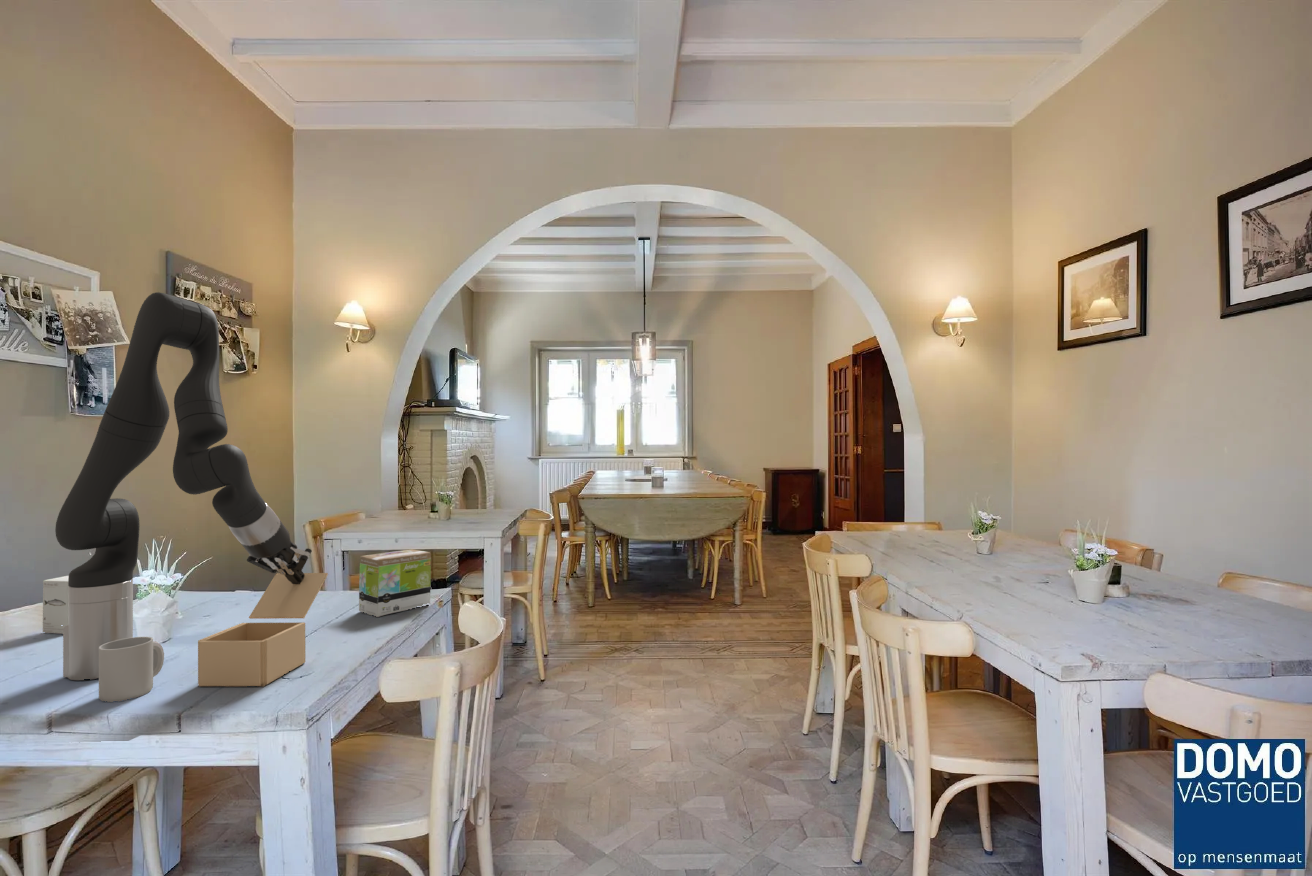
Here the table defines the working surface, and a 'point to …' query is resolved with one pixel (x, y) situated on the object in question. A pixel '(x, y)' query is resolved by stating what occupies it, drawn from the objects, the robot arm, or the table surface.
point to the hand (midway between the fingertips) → (298, 580)
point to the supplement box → (55, 605)
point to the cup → (128, 668)
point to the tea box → (394, 581)
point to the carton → (250, 654)
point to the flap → (288, 597)
